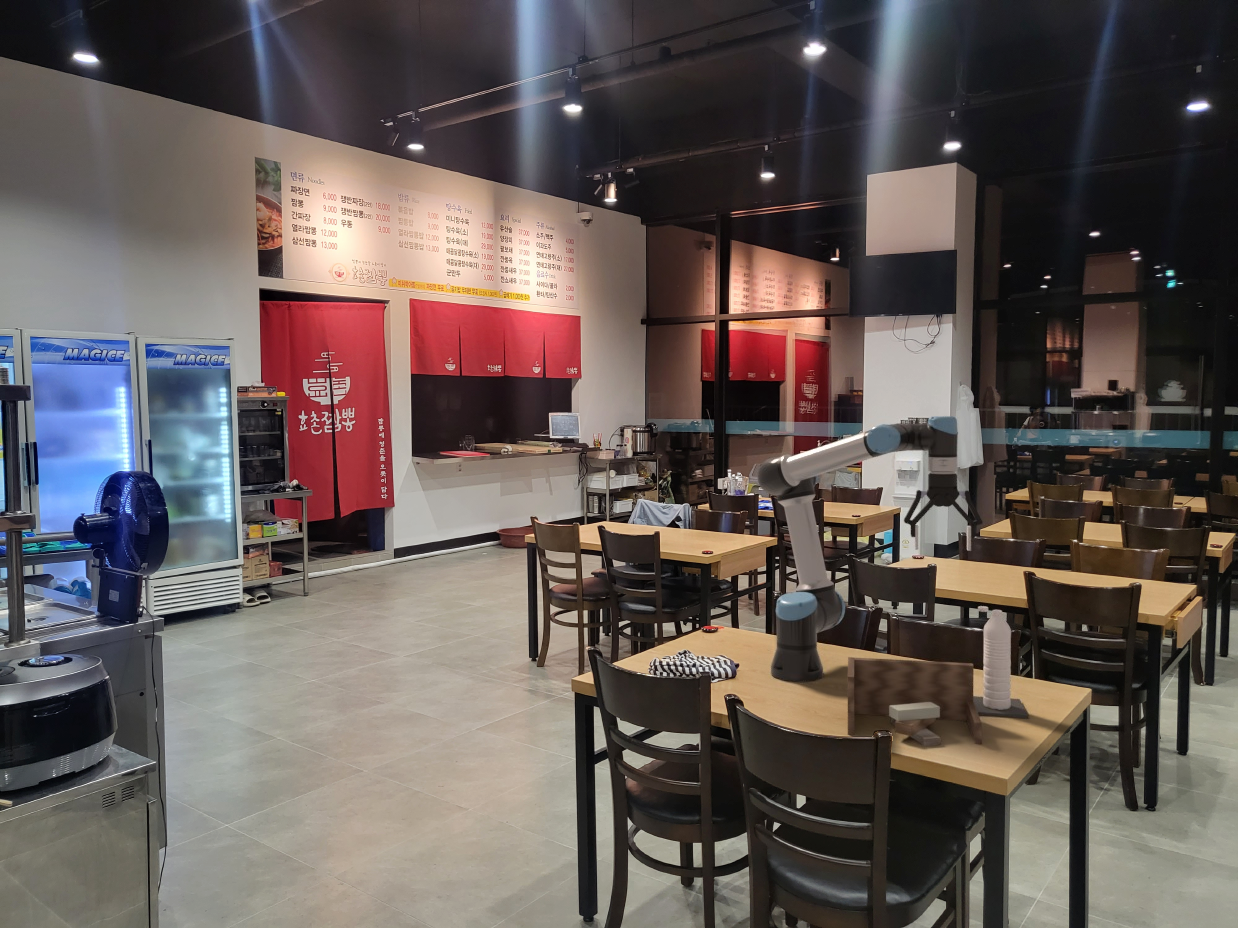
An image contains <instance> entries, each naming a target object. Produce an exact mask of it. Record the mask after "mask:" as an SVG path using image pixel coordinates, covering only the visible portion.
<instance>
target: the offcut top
mask: <svg viewBox="0 0 1238 928" xmlns="http://www.w3.org/2000/svg"><path fill="white" fill-rule="evenodd" d="M888 717H890V718H891V717H892V718H894V719H895V720H897V721H905V720H916V719H926V718H937V717H940V707H939V706H937V705H935V704H933V703H932V702H924V703H912V704H901V705H890V706H889V716H888Z"/></svg>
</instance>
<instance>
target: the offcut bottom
mask: <svg viewBox="0 0 1238 928" xmlns="http://www.w3.org/2000/svg"><path fill="white" fill-rule="evenodd" d="M896 721H897V720H895V719H894V718H892V717H890V723H891V724H892V725H893V726H895V722H896ZM910 737H911V739H914V740H915V741H916V742H918V744H920V745H922V746H923V747H930V746H931V747H932V746H940V745H941V737H940V736H939V735H937V734H935V732H933V731H931V730H930V729H928V728H927V727H925V728H923V729H922V730H920V731H919V732H917V733H916V734H914V735H912V736H910Z"/></svg>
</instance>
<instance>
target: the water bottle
mask: <svg viewBox="0 0 1238 928" xmlns="http://www.w3.org/2000/svg"><path fill="white" fill-rule="evenodd" d="M977 611H978V612H982V613H984V612H985V613H987V612H988V611H989V607H988V606H984V605H983V606H982V605H980V606H977ZM1003 615H1004V614H1003V610H1001V609H992V612H991V616H990V617H989V619H988V620H987V622H986V623H985V624H984V626H983V670H982V671H983V680H982V681H983V683H982V685H983V692H982V693H983V696H982V697H983V704H984V706H986V707H988V708H991V709H998V710H1004V709H1009V708H1010V706H1011V699H1010V698H1011V693H1012V692H1011V691H1012V690H1011V687H1012V684H1011V681H1012V679H1011V678H1012V676H1011V672H1012V669H1011V666H1012V662H1011V657H1012V654H1011V651H1012V649H1011V648H1012V646H1011V645H1012V643H1011V641H1012V640H1011V638H1012V630H1011V627H1010V625H1009V623H1008V622H1007V621H1006V619H1005V618H1004V616H1003Z"/></svg>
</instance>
